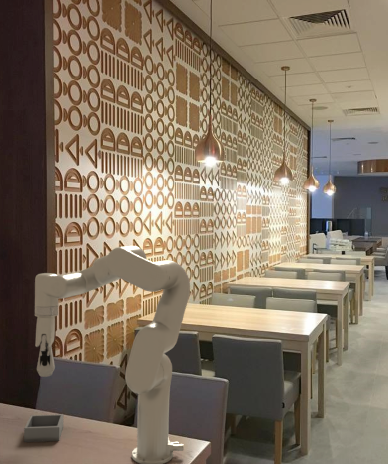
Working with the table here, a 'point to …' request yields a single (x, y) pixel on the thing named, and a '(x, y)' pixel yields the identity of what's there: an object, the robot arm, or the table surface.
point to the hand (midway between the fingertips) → (45, 365)
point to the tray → (43, 428)
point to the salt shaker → (47, 369)
